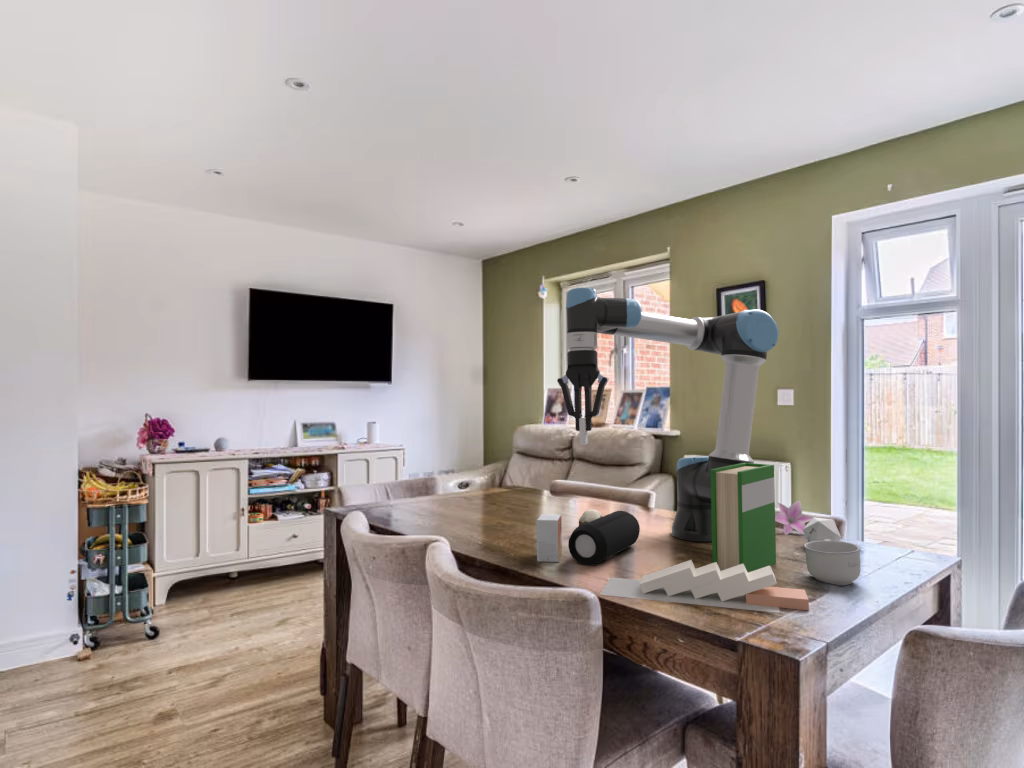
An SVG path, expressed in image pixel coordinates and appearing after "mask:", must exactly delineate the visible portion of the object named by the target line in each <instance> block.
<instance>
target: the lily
mask: <svg viewBox="0 0 1024 768" xmlns="http://www.w3.org/2000/svg"><path fill="white" fill-rule="evenodd" d="M777 506H778V508H779V509H778V510H779V511H780V512H776V513H775V522H777V523H779V524H782V525H783V533H784V535H785V536H788V535H789V534H790V533H791V532H792V531H793V530H795V531H797V532H799V533H800V534H802V535H804V536H805V534H804V531H803V529H804V528H805V526H806V525H807V524H805V523H807V522H808V523H809V522H810V520H811V519H812V518H813V517H812V516H809V515H806V514H802V512H803V506H802V503H801V500H796V501H795V502H793V503H792V504H791V505H790V506H789V507H787V506H786V505H785V504H782V503H780V502H777Z"/></svg>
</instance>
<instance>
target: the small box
mask: <svg viewBox="0 0 1024 768" xmlns="http://www.w3.org/2000/svg"><path fill="white" fill-rule="evenodd" d="M535 523H536V528H535V529H536V561H537V562H543V563H544V562H545V563H546V562H547V563H560V559H561V558H562V555H563V550H562V549H563V538H562V537H563V536H562V535H563V533H562V532H563V531H562V514H557V513H555V514H554V513H551V514H550V513H549V514H548V513H541V514H540V515H539V517H538V518H537V519H536V520H535Z"/></svg>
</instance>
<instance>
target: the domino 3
mask: <svg viewBox="0 0 1024 768" xmlns="http://www.w3.org/2000/svg"><path fill="white" fill-rule="evenodd" d="M746 582H749V579H748V572H747V570H746V568H745V566H744V564H740V565H737V566H734V567H731V568H728V569H725V570H722V571H721V575H720V580H718V581H715V582H712V583H708V584H705V585H702V586H699V587H696V588H693V589H691V591H692V593H693V595H694V597H695V599H697V598H700V597H703V596H706V595H709V594H712V593H715V592H718V591H722V590H725V589H728V588H731V587H734V586H737V585H740V584H743V583H746Z"/></svg>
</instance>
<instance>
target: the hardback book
mask: <svg viewBox="0 0 1024 768" xmlns="http://www.w3.org/2000/svg"><path fill="white" fill-rule="evenodd" d="M775 494H776V493H775V464H767V463H755V462H754V463H740V464H735V465H730V466H725V467H720V468H715V469H711V518H712V541H711V557H712V559H711V563H714V562H717V564H718V566H719V569H720V571H722V570H725V569H728V568H731V567H734V566H737V565H740V564H744V566H745V568H746V570H747V572H751V571H754V570H757V569H760V568H763V567H766V566H769V565H770V567H772V566H774V565H776V564H777V544H776V543H777V542H776V539H777V538H776V534H777V533H776V521H775V514H776V500H775V499H776V497H775V496H776V495H775Z"/></svg>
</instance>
